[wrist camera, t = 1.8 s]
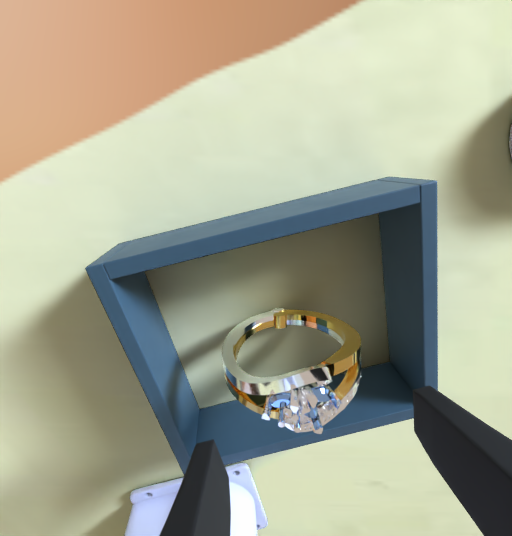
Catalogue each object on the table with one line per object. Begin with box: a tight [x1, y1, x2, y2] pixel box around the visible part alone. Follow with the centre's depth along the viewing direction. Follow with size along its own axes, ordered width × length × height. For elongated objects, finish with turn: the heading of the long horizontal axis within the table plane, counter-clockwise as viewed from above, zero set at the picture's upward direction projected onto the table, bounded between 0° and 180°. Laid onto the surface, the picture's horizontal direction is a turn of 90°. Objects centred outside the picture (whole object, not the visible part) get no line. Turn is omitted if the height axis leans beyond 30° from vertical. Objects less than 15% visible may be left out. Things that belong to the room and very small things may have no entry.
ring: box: [222, 308, 362, 434], centre depth 15 cm, size 7×3×8 cm, turn 93°
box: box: [85, 177, 438, 475], centre depth 16 cm, size 16×14×4 cm
